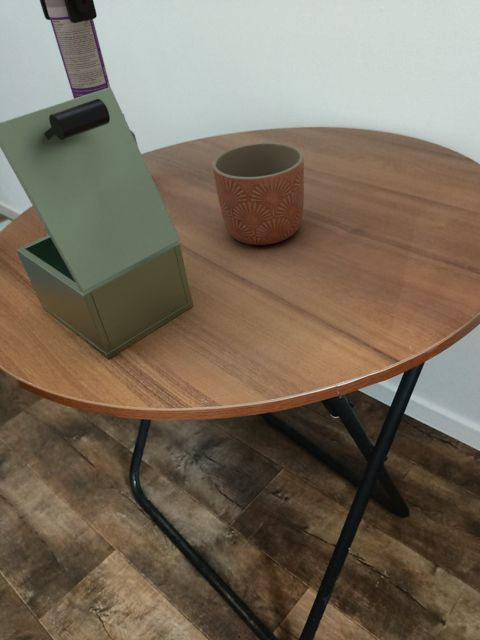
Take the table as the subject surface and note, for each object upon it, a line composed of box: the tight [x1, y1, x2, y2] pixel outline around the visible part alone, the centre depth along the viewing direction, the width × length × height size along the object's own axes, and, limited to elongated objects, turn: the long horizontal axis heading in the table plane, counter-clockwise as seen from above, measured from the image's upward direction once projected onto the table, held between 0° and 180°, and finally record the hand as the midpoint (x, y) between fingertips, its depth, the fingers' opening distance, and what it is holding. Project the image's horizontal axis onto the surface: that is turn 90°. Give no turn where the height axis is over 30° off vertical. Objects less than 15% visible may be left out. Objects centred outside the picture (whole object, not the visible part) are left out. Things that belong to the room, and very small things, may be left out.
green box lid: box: [0, 86, 181, 292], centre depth 51 cm, size 16×13×6 cm
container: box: [45, 0, 111, 99], centre depth 61 cm, size 5×5×15 cm
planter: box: [211, 141, 305, 246], centre depth 74 cm, size 12×12×11 cm
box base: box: [15, 233, 194, 360], centre depth 63 cm, size 16×13×9 cm
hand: (70, 17), depth 59 cm, fingers closed on container, 4 cm apart
